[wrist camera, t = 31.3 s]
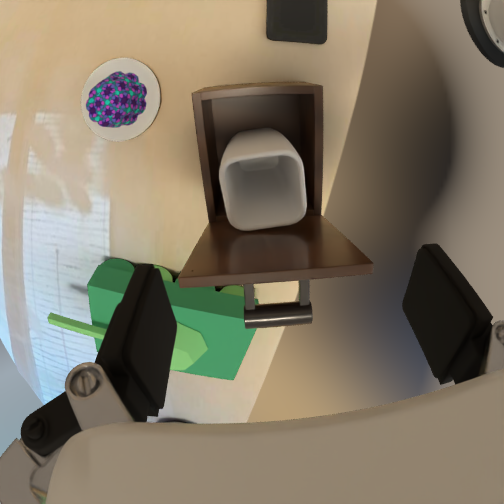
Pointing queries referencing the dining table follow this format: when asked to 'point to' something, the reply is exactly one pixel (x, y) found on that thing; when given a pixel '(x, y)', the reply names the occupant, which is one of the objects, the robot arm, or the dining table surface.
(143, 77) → the pudding
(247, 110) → the chest
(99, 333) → the toy tank
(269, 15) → the smartphone
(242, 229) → the cup
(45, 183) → the dining table surface
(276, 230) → the lid
